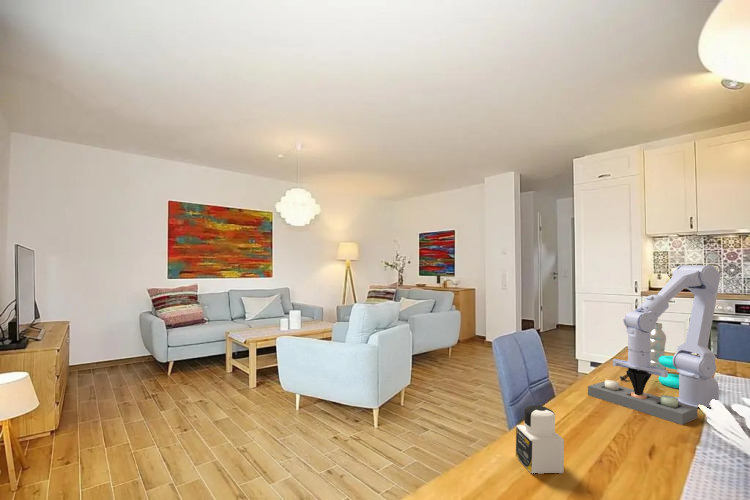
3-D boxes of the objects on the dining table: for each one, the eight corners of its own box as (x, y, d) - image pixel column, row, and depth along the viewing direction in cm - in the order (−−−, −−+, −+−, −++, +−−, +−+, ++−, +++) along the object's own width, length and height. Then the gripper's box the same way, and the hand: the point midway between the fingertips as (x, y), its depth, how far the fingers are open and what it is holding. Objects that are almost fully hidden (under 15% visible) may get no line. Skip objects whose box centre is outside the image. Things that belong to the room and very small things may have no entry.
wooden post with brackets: (641, 377, 146) (638, 367, 145) (627, 387, 143) (623, 377, 143) (637, 376, 147) (633, 365, 147) (622, 386, 145) (619, 375, 144)
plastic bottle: (662, 370, 159) (662, 322, 159) (669, 375, 152) (669, 325, 153) (644, 369, 161) (644, 321, 161) (649, 373, 154) (650, 323, 155)
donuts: (687, 356, 142) (698, 363, 133) (687, 383, 142) (698, 392, 133) (655, 353, 146) (663, 359, 137) (654, 379, 146) (663, 387, 137)
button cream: (621, 390, 124) (621, 382, 125) (615, 392, 122) (615, 384, 122) (608, 387, 128) (608, 379, 128) (602, 389, 126) (602, 381, 126)
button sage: (680, 407, 111) (680, 398, 111) (674, 410, 109) (674, 401, 109) (664, 403, 114) (664, 394, 114) (657, 405, 112) (658, 396, 112)
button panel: (697, 417, 110) (697, 407, 110) (682, 424, 105) (682, 413, 105) (604, 390, 132) (604, 381, 132) (587, 394, 127) (587, 385, 127)
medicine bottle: (515, 456, 85) (516, 402, 85) (545, 456, 86) (546, 402, 86) (530, 474, 78) (531, 415, 78) (564, 474, 79) (565, 415, 79)
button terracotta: (649, 403, 118) (649, 395, 118) (642, 406, 116) (642, 397, 116) (634, 399, 121) (634, 391, 121) (628, 401, 119) (628, 393, 119)
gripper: (607, 346, 123) (607, 389, 122) (660, 357, 110) (659, 404, 110) (619, 344, 127) (618, 386, 126) (671, 354, 114) (670, 400, 114)
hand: (638, 394), depth 118 cm, fingers closed, pressing on button terracotta
